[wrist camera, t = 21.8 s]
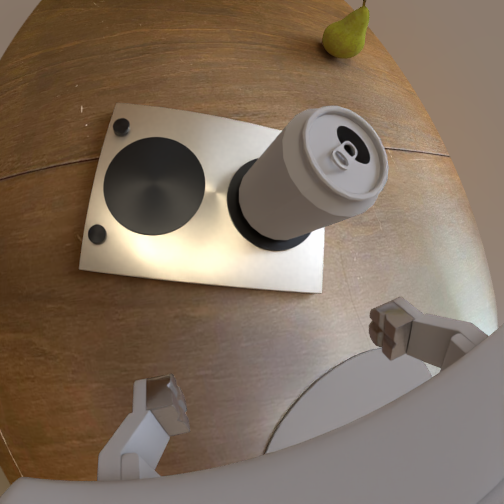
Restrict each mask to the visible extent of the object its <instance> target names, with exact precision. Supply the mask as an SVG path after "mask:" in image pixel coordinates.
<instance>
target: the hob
mask: <svg viewBox="0 0 504 504" xmlns="http://www.w3.org/2000/svg"><path fill="white" fill-rule="evenodd" d="M280 133H281V130H277V129H273V128H269V127H265V126H261V125H256V124H252V123H247V122H243V121H238V120H234V119H229V118H224V117H218V116H213V115H208V114H202V113H196V112H190V111H184V110H177V109H170V108H163V107H155V106H146V105H137V104H127V103H116V105H115V108H114V111H113V114H112V117H111V120H110V124H109V127H108V130H107V133H106V137H105V140H104V143H103V147H102V151H101V154H100V158H99V162H98V166H97V170H96V174H95V178H94V182H93V187H92V191H91V196H90V201H89V206H88V211H87V216H86V222H85V228H84V234H83V241H82V248H81V255H80V263H79V270H83V271H91V272H98V273H106V274H113V275H121V276H129V277H138V278H146V279H155V280H164V281H173V282H182V283H192V284H202V285H212V286H223V287H234V288H245V289H257V290H270V291H283V292H297V293H311V294H321V293H322V279H323V259H324V231H325V227H323V228H321V229H318V230H315V231H312V232H310V233H307V234H304V235H301V236H298V237H295V238H292V239H289V240H274V239H271V238H269V237H266V236H263V235H261V234H260V233H259V232H258V231H256V230H255V229H254V228H253V227H251V225H250V224H249V223H248V221H247V220H246V218H245V217H244V215H243V213H242V210H241V207H240V203H239V188H240V185H241V182H242V179H243V177H244V175H245V174H246V173H247V172H248V171H249V169H250V168H251V167H252V166H253V164H254V163H255V162H256V161H257V160H258V158H259V157H260V156H261V155H262V154H263V153H264V151H265V150H266V149H267V148H268V147H269V145H270V144H271V143H272V142H273V141H274V140H275V138H276V137H277V136H278V135H279V134H280Z"/></svg>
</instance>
